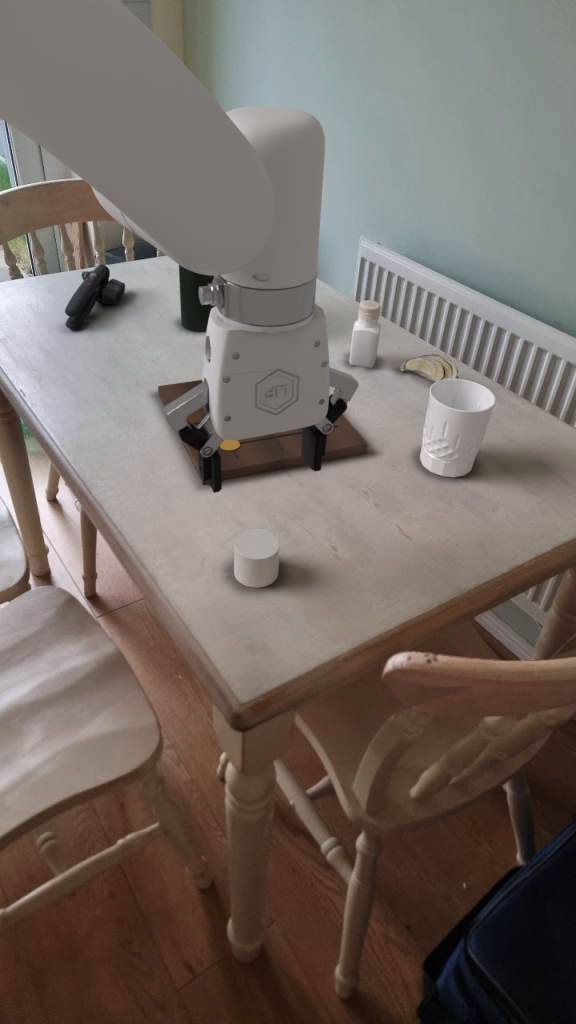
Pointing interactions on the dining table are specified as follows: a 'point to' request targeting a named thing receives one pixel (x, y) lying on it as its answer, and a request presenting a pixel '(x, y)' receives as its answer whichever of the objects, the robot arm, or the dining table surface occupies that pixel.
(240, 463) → the board
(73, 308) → the can opener
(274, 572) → the white cylinder
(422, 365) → the oyster shell
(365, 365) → the pepper shaker
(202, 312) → the wine bottle
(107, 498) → the dining table surface
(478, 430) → the white cup
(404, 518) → the dining table surface
